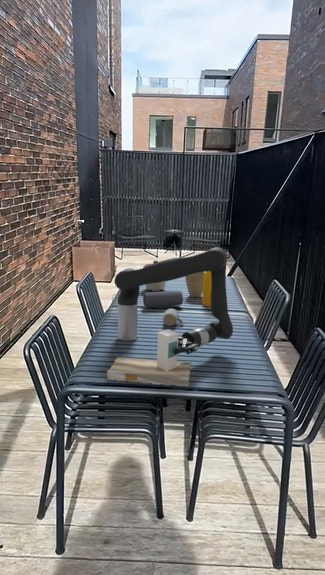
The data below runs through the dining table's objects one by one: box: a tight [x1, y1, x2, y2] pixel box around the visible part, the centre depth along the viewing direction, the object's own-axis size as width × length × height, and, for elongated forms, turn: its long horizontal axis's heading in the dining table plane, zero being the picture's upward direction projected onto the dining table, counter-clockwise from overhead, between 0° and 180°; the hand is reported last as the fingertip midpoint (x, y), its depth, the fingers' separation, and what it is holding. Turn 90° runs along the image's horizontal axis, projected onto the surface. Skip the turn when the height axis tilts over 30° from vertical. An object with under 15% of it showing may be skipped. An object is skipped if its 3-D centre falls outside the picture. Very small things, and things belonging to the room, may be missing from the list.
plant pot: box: [184, 272, 205, 298], centre depth 261 cm, size 15×15×16 cm
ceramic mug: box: [162, 308, 184, 327], centre depth 205 cm, size 11×8×8 cm
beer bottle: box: [201, 271, 212, 308], centre depth 240 cm, size 9×9×29 cm
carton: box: [156, 328, 179, 371], centre depth 149 cm, size 6×6×14 cm
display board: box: [106, 356, 192, 388], centre depth 149 cm, size 15×30×4 cm, turn 82°
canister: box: [142, 260, 167, 292], centre depth 275 cm, size 18×18×21 cm
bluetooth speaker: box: [142, 290, 184, 309], centre depth 235 cm, size 23×9×10 cm, turn 108°
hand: (166, 348), depth 149 cm, fingers open, 8 cm apart
